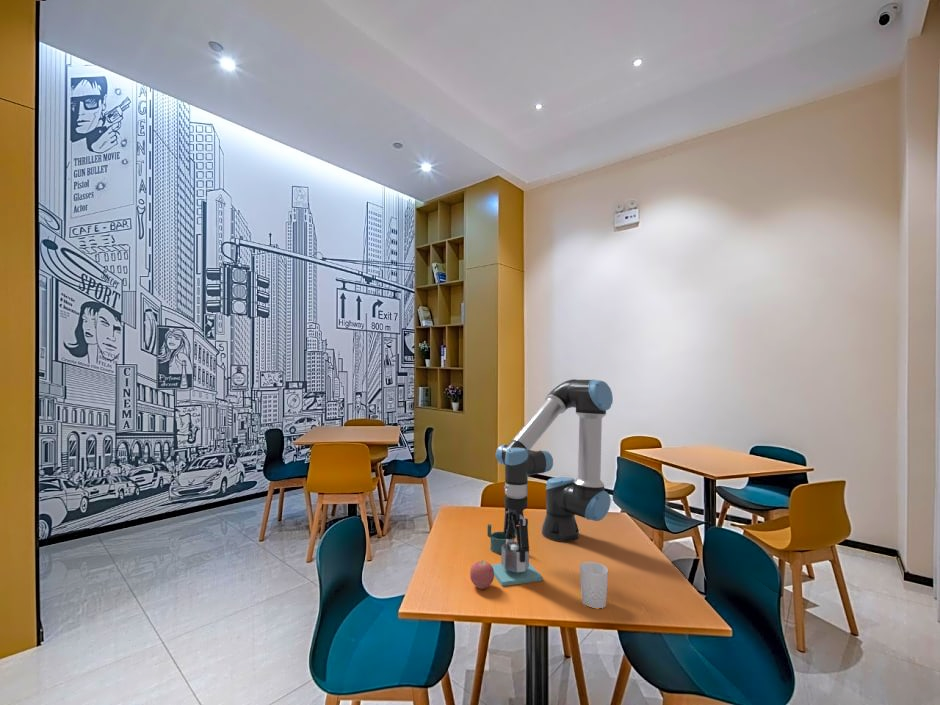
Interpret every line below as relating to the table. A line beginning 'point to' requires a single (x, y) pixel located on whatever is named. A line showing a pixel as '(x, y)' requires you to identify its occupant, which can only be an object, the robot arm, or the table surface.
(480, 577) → the apple
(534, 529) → the table surface
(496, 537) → the bracket
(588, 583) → the white cup
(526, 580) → the stand
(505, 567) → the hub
